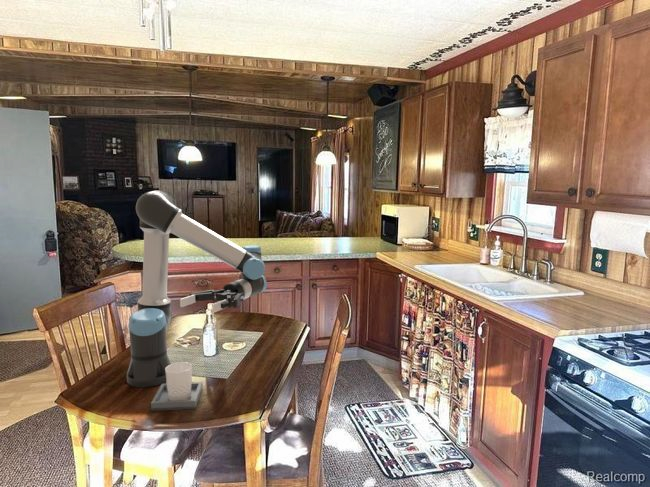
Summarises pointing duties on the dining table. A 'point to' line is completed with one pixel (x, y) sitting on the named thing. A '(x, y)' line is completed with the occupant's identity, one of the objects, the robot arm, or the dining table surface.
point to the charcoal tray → (165, 404)
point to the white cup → (179, 381)
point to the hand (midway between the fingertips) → (196, 305)
